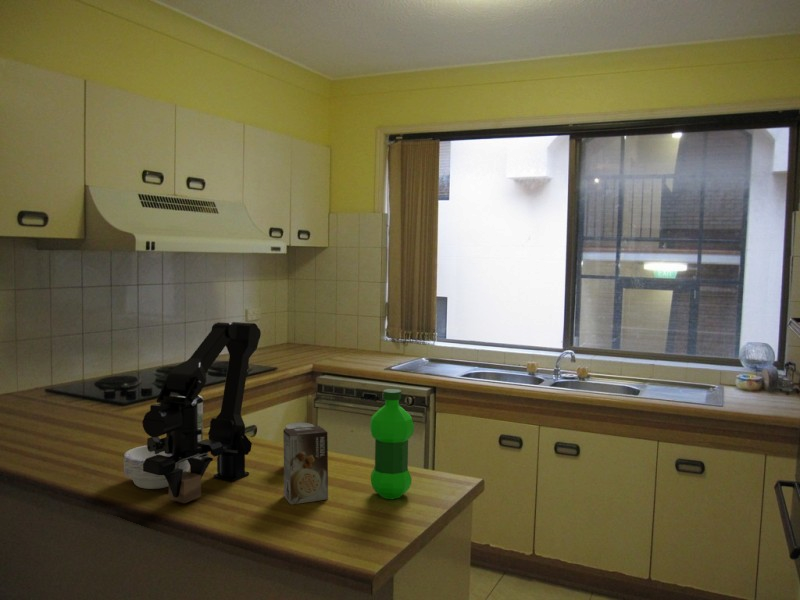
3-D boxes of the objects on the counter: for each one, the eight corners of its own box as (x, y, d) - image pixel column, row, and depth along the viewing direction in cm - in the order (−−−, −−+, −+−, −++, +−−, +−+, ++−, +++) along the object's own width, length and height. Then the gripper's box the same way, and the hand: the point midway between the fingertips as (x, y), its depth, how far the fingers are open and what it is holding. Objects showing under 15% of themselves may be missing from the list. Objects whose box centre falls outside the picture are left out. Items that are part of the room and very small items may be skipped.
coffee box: (320, 490, 158) (321, 425, 157) (328, 500, 152) (329, 431, 151) (282, 495, 154) (283, 428, 153) (289, 505, 148) (289, 435, 147)
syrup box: (192, 440, 198) (191, 392, 197) (203, 444, 194) (203, 395, 193) (174, 444, 193) (174, 395, 192) (186, 448, 190) (185, 399, 188)
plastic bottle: (362, 490, 158) (363, 388, 156) (402, 485, 162) (403, 385, 161) (378, 505, 149) (379, 396, 147) (419, 499, 153) (421, 393, 151)
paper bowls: (200, 474, 168) (199, 443, 167) (172, 495, 153) (171, 462, 152) (143, 471, 170) (143, 440, 169) (111, 492, 155) (110, 459, 154)
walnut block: (201, 496, 151) (201, 475, 150) (184, 503, 146) (184, 481, 146) (185, 492, 153) (185, 471, 153) (168, 499, 149) (168, 477, 148)
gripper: (190, 412, 160) (190, 475, 162) (125, 430, 144) (126, 499, 145) (224, 418, 155) (224, 483, 156) (160, 437, 139) (161, 509, 140)
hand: (185, 493), depth 149 cm, fingers closed on walnut block, 5 cm apart
